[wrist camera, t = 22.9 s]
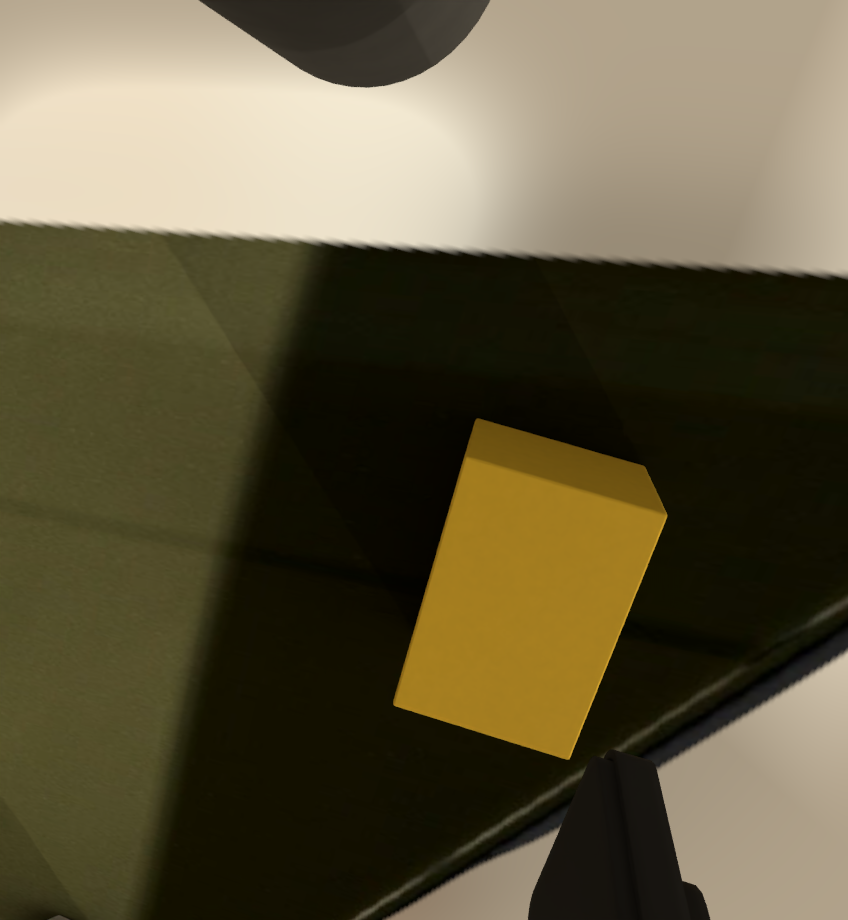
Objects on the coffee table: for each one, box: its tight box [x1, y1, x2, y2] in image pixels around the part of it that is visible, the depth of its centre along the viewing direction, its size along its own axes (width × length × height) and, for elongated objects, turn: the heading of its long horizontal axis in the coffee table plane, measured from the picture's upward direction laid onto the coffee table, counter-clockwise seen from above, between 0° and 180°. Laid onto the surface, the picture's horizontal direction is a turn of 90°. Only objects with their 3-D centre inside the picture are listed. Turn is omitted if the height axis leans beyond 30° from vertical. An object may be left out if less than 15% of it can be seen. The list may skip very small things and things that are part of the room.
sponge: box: [393, 419, 667, 759], centre depth 24 cm, size 9×6×4 cm, turn 166°
